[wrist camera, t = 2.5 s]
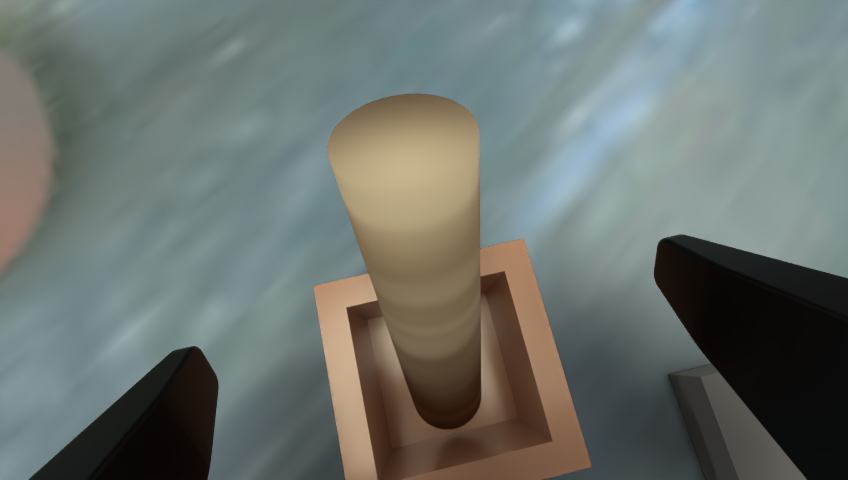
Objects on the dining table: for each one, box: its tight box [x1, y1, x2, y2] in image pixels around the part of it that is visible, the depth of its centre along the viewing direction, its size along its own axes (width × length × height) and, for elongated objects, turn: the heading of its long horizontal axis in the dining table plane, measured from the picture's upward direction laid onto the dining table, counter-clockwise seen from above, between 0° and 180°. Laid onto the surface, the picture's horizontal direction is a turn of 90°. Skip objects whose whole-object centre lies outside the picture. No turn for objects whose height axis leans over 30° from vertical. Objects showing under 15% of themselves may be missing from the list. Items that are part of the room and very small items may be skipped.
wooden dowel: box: [327, 94, 481, 429], centre depth 11 cm, size 6×2×11 cm, turn 13°
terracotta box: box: [314, 239, 592, 480], centre depth 14 cm, size 6×6×5 cm
